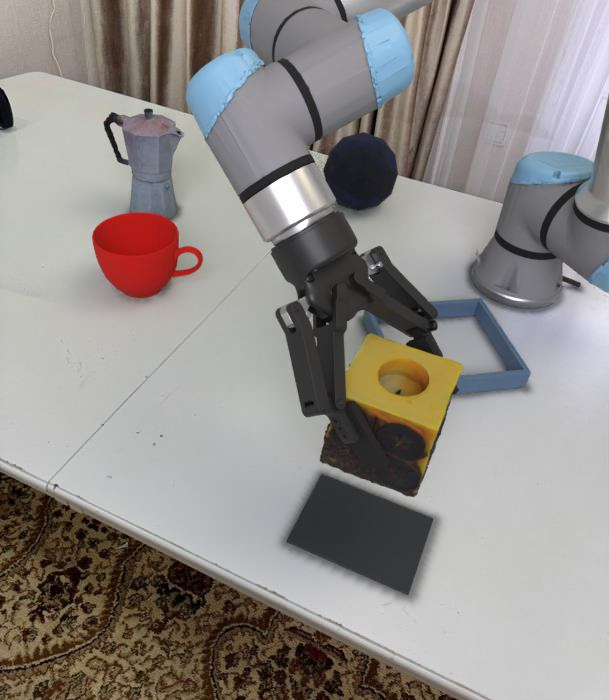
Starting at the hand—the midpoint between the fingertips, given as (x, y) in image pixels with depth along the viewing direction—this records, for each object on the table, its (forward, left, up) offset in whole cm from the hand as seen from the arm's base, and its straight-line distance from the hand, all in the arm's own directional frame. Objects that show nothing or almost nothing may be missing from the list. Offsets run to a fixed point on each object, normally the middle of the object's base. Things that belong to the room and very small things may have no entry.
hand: (414, 428), depth 59 cm
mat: (+3, 0, -17) cm, 17 cm away
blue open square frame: (-17, -28, -17) cm, 37 cm away
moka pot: (+25, -74, -17) cm, 80 cm away
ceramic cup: (+25, -49, -17) cm, 58 cm away
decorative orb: (-16, -74, -17) cm, 78 cm away
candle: (+2, -2, -5) cm, 6 cm away
